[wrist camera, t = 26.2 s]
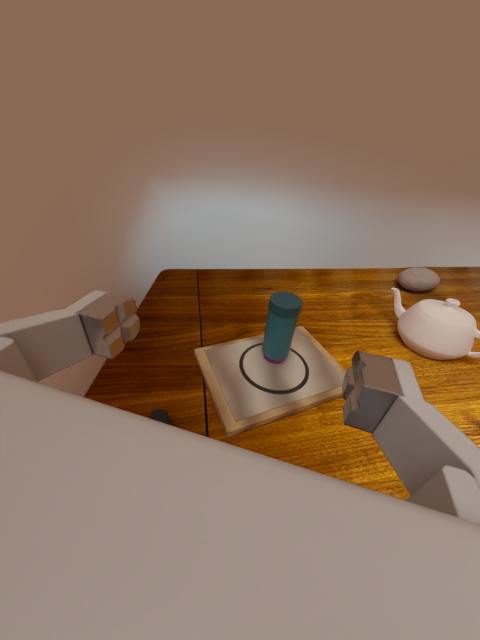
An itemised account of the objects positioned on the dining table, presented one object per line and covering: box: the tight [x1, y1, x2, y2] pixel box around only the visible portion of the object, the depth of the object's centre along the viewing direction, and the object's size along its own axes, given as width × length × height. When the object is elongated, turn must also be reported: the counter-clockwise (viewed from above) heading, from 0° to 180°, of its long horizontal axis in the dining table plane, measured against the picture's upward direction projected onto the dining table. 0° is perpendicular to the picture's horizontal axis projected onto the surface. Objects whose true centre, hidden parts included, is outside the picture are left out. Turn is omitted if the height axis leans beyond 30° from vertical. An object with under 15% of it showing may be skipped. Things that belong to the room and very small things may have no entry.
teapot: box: [391, 288, 480, 360], centre depth 49 cm, size 20×12×10 cm, turn 36°
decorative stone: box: [398, 267, 440, 291], centre depth 71 cm, size 13×9×5 cm
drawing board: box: [194, 326, 346, 437], centre depth 42 cm, size 22×16×2 cm
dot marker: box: [262, 292, 302, 364], centre depth 40 cm, size 5×5×11 cm
